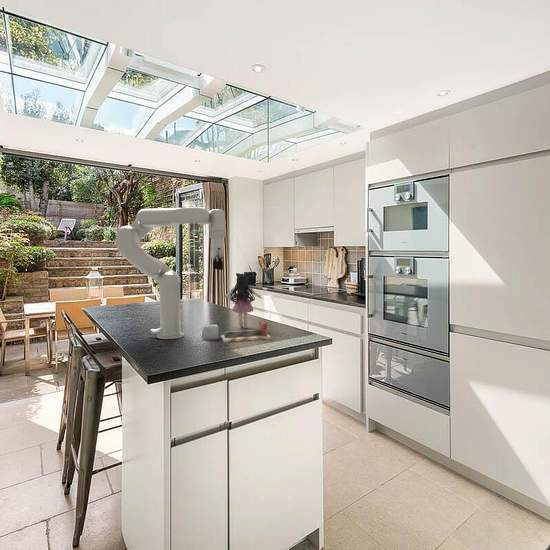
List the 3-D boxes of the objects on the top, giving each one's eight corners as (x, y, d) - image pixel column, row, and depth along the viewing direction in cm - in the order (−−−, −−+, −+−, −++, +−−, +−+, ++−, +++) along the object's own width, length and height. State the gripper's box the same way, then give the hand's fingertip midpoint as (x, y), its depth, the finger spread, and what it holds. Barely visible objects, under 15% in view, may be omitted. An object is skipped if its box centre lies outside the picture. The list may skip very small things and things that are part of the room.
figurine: (264, 326, 204) (264, 272, 203) (262, 330, 194) (261, 273, 192) (224, 326, 206) (224, 272, 205) (220, 329, 196) (219, 273, 195)
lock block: (203, 340, 172) (203, 327, 172) (202, 337, 178) (201, 325, 178) (218, 339, 174) (218, 326, 174) (216, 336, 180) (216, 324, 180)
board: (224, 342, 167) (224, 326, 167) (220, 337, 177) (220, 322, 176) (270, 339, 173) (270, 323, 173) (265, 334, 183) (265, 320, 183)
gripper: (207, 235, 189) (208, 269, 190) (212, 233, 173) (213, 270, 174) (221, 235, 192) (222, 268, 192) (228, 233, 175) (228, 269, 176)
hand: (218, 269), depth 183 cm, fingers open, 9 cm apart
